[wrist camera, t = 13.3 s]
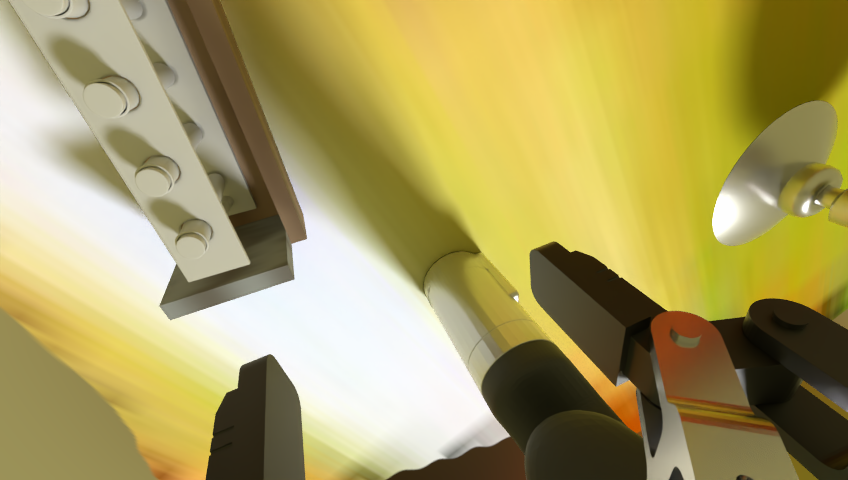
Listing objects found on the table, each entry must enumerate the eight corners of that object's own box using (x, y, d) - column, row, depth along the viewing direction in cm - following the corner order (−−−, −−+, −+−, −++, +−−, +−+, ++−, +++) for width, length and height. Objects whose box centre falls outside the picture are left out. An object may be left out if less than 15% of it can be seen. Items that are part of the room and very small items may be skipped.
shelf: (134, -218, 22) (36, -390, 13) (303, 214, 39) (312, 273, 30) (-103, -206, 20) (-431, -408, 11) (185, 249, 37) (156, 324, 28)
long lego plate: (257, 205, 36) (250, 281, 25) (209, 217, 35) (181, 303, 24) (99, -155, 22) (-62, -323, 12) (15, -150, 21) (-248, -329, 11)
